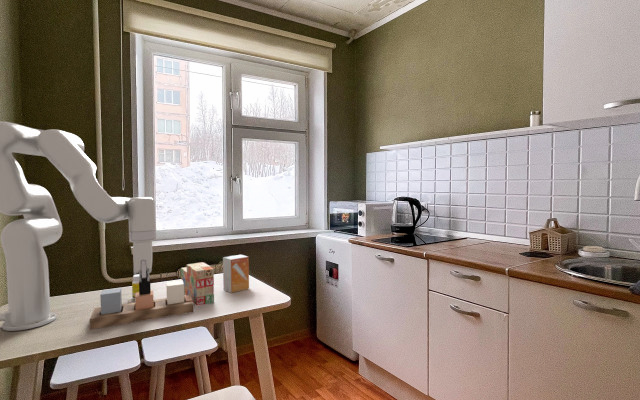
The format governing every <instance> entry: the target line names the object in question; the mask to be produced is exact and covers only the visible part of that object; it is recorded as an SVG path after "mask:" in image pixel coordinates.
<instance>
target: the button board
mask: <svg viewBox="0 0 640 400" xmlns="http://www.w3.org/2000/svg"><path fill="white" fill-rule="evenodd" d="M153 302H154V307H152V308H146V309H139V310H136V307H135V302H129V303H122V308H121V312H116V313H109V314H102V315H101V306H100V307H95V308H93V311H92V313H91V315H90V318H89V330H95V329H100V328H107V327H108V328H109V327H113V326H118V325H119V326H120V325H125V324H126V325H127V324H131V323H137V322H144V321H149V320H155V319H161V318H167V317H169V318H170V317H173V316H178V315H179V316H181V315H186V314H192V313H194V303H193V301H192V298H191V296H190V295H186V294H184V302H182V303H175V304H169V305H168V304H167V297H163V298H158V299H157V298H156V299H153Z"/></svg>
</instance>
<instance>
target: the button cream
mask: <svg viewBox="0 0 640 400" xmlns="http://www.w3.org/2000/svg"><path fill="white" fill-rule="evenodd" d="M165 286H166V298H167V304H168V305H169V304H175V303H182V302H184V295H185V293H184V283H183V280H182V279H181V280H174V281H167V282H166V285H165Z"/></svg>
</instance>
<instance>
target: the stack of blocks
mask: <svg viewBox="0 0 640 400" xmlns="http://www.w3.org/2000/svg"><path fill="white" fill-rule="evenodd" d="M214 273H215V270H214V268H213V267H212V266H211V265H209V264H207V263H206V262H202V261H201V262H195V263H188V264H186V267H181V268H180V277H181V280H183V283H184V295H190V296H191V298H192V301H193V305H195V306H202V305H206V304H212V303H214V302H215V294H214V293H215V292H214V291H215V289H214V287H215V282H214V281H215V280H214V279H215V275H214Z"/></svg>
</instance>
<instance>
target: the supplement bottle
mask: <svg viewBox="0 0 640 400" xmlns="http://www.w3.org/2000/svg"><path fill="white" fill-rule="evenodd" d="M132 279H133V280H132V281H131V283H132V284H131V288H132V289H131V291H132V293H131V294H132V299H133V300H135V295H136V293H138V292H139V281H140V280H139V273H136V275H135V274H133V276H132Z"/></svg>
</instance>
